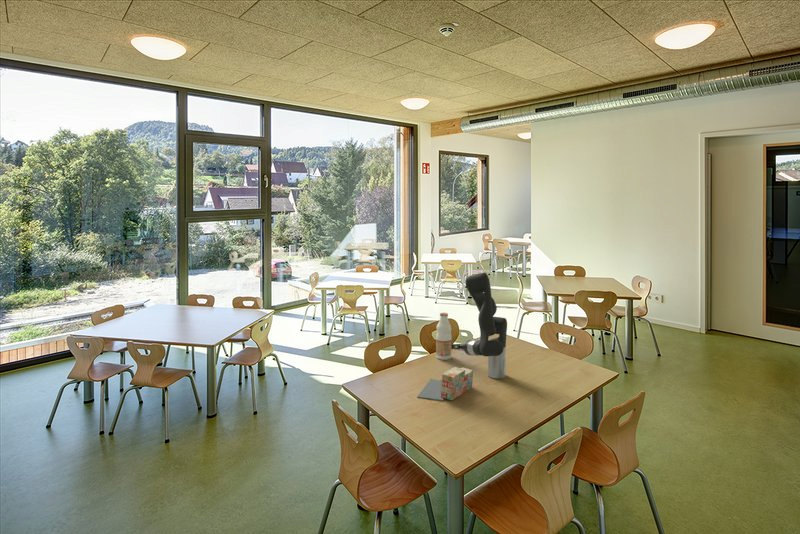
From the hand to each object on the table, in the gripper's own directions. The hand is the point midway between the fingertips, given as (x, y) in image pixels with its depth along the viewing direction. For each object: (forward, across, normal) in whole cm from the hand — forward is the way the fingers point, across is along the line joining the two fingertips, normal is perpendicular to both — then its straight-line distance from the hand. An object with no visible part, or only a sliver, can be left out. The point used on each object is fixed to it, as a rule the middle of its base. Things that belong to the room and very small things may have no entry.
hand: (459, 347), depth 239 cm
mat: (+5, +10, +22) cm, 25 cm away
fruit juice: (+47, -12, +6) cm, 49 cm away
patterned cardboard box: (-1, +1, +23) cm, 23 cm away
